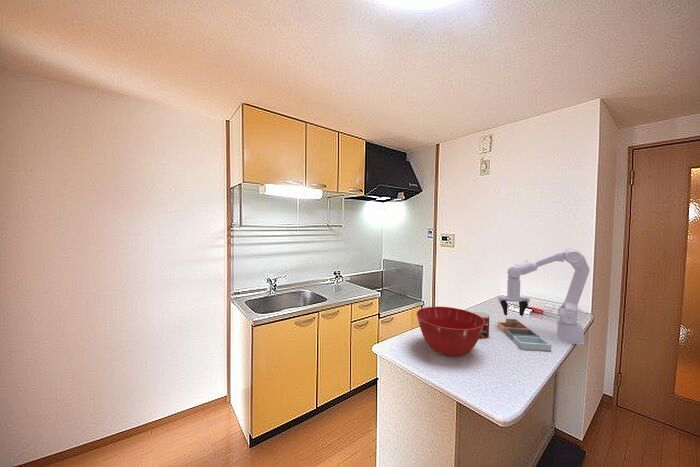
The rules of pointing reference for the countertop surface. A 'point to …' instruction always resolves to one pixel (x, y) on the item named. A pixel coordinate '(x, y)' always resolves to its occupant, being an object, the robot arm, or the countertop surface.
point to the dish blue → (532, 343)
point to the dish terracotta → (503, 325)
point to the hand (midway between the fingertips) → (513, 315)
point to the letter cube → (513, 323)
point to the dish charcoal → (520, 333)
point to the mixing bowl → (450, 329)
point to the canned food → (486, 326)
